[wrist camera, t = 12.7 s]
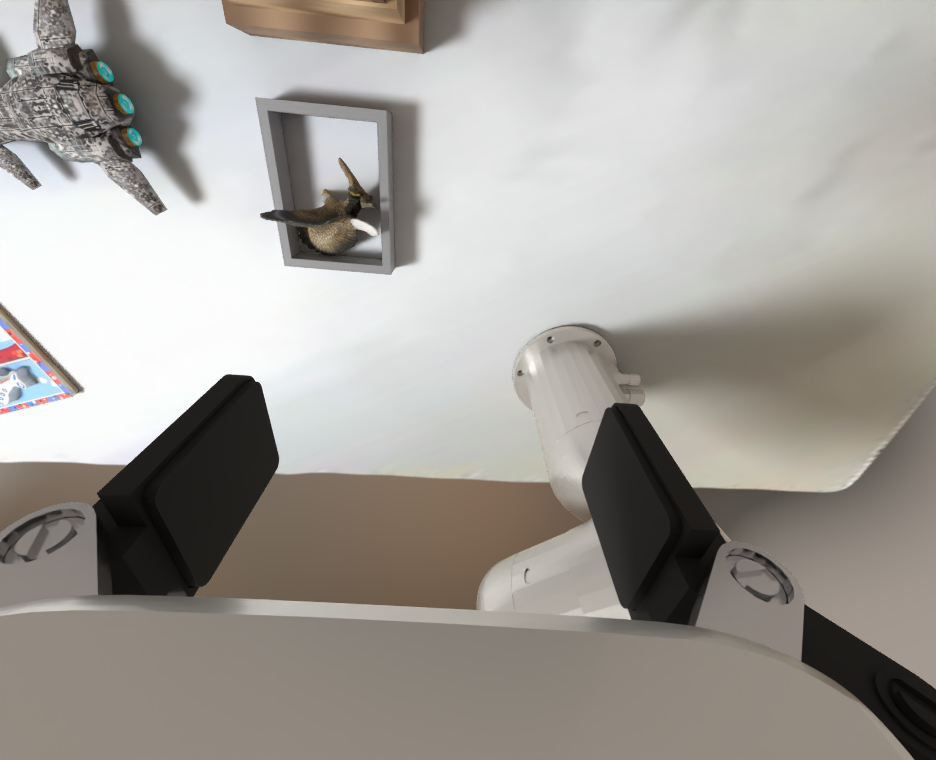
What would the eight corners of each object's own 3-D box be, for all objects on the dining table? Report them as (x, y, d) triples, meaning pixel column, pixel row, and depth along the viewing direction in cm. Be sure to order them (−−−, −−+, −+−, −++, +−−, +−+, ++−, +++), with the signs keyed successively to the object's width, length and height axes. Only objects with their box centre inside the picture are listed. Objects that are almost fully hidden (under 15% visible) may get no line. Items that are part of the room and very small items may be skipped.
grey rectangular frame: (391, 112, 33) (386, 110, 31) (394, 267, 40) (390, 274, 38) (269, 100, 32) (255, 97, 30) (294, 259, 40) (284, 265, 38)
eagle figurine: (329, 135, 33) (250, 196, 34) (350, 175, 29) (262, 241, 30) (378, 202, 39) (311, 251, 41) (400, 241, 36) (326, 294, 37)
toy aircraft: (-140, 0, 29) (-251, -27, 25) (105, -25, 29) (36, -57, 24) (10, 223, 38) (-52, 233, 34) (200, 209, 37) (163, 218, 33)
